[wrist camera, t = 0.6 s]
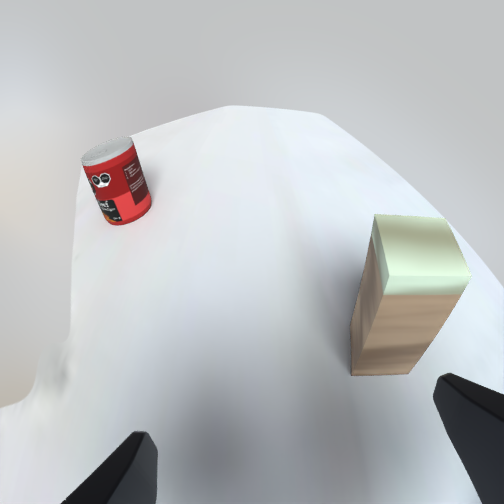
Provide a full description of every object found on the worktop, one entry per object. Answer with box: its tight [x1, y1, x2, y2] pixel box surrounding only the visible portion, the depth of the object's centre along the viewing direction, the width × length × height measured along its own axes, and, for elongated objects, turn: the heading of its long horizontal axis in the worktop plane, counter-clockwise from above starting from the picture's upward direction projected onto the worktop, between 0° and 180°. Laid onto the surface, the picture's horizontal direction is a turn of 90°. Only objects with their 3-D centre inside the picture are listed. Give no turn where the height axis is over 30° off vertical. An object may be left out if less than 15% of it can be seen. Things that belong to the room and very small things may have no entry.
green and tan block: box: [350, 214, 472, 376], centre depth 19 cm, size 5×5×12 cm
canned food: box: [81, 137, 151, 225], centre depth 40 cm, size 8×8×11 cm
